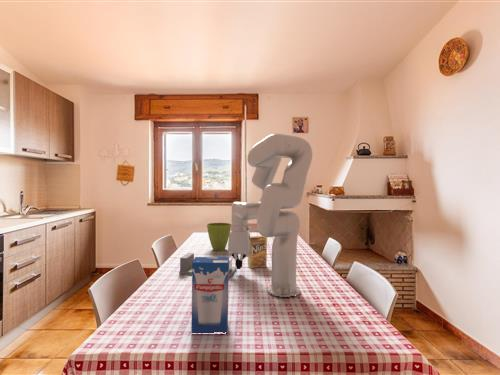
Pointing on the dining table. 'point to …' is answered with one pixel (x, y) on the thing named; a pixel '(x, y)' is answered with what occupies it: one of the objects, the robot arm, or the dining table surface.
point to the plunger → (230, 264)
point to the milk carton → (210, 294)
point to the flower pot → (218, 235)
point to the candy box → (258, 252)
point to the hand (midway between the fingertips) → (238, 268)
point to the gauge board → (187, 265)
